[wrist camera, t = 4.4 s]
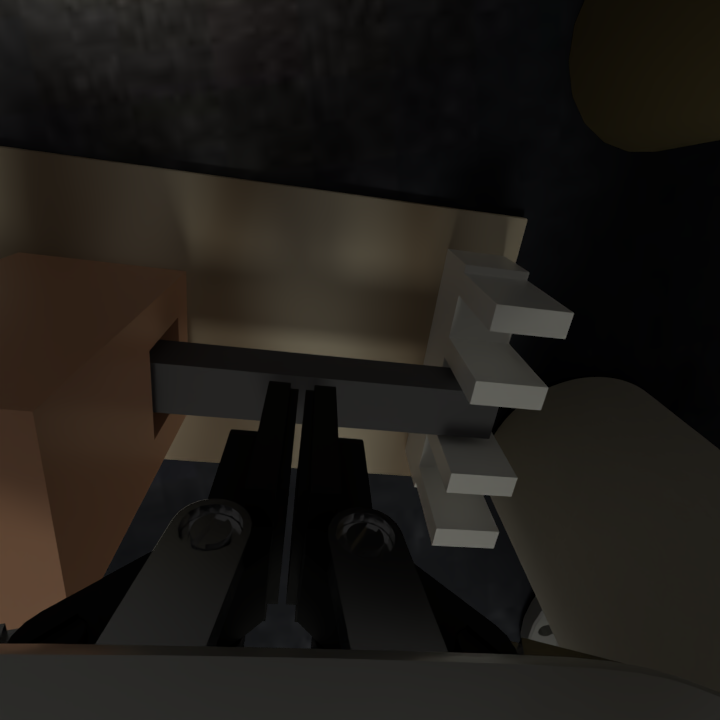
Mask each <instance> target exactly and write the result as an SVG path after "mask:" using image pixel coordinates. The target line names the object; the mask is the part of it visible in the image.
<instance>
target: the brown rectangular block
mask: <svg viewBox="0 0 720 720" xmlns="http://www.w3.org/2000/svg"><path fill="white" fill-rule="evenodd" d="M158 340H169V341H180V342H188V334H187V284H186V271H179V270H171V269H162V268H153V267H144V266H135V265H126V264H118V263H109V262H100V261H91V260H82V259H74V258H65V257H56V256H47V255H38V254H29V253H21V252H18V253H16V254H13V255H10V256H7V257H4V258H2V259H0V624H4V623H5V625H6V629H7V630H12V629H18V628H20V627H21V626H22V625H23V624H24V623H25V622H26V621H28V620H29V619H31V618H32V617H34V616H35V615H37V614H38V613H40V612H41V611H43V610H45V609H47V608H49V607H50V606H52V605H54V604H56V603H58V602H60V601H61V600H63V599H65V598H67V597H69V596H71V595H73V594H74V593H76V592H78V591H80V590H82V589H84V588H85V587H87V586H89V585H91V584H93V583H95V582H96V581H98V580H100V579H102V578H103V576H104V574H105V572H106V570H107V568H108V566H109V564H110V562H111V560H112V558H113V557H114V555H115V553H116V551H117V549H118V547H119V545H120V543H121V541H122V539H123V537H124V535H125V533H126V531H127V529H128V528H129V526H130V524H131V522H132V520H133V518H134V516H135V514H136V512H137V510H138V508H139V506H140V504H141V502H142V500H143V498H144V497H145V495H146V493H147V491H148V489H149V487H150V485H151V483H152V481H153V479H154V477H155V475H156V473H157V471H158V469H159V468H160V466H161V464H162V462H163V460H164V458H165V456H166V454H167V452H168V450H169V448H170V446H171V444H172V442H173V440H174V438H175V437H176V435H177V433H178V431H179V429H180V427H181V425H182V423H183V421H184V419H185V417H186V415H180V414H168V413H155V412H153V406H152V389H151V371H150V354H149V351H150V349H151V348H152V347H153V346H154V345H155V344H156V342H157V341H158Z"/></svg>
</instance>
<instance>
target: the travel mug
mask: <svg viewBox="0 0 720 720" xmlns="http://www.w3.org/2000/svg"><path fill="white" fill-rule="evenodd" d="M494 437H495V439H496V441H497V442H498V444H499V446H500V448H501V449H502V451H503V453H504V455H505V456H506V458H507V460H508V462H509V463H510V465H511V467H512V469H513V471H514V472H515V474H516V476H517V478H518V479H517V481H516V484H515V487H514V490H513V493H512V496H511V497H508V496H493V495H490V497H491V499H492V501H493V503H494V506H495V508H496V510H497V512H498V514H499V516H500V519H501V521H502V523H503V525H504V527H505V530H506V532H507V534H508V536H509V538H510V540H511V543H512V545H513V547H514V549H515V551H516V554H517V556H518V558H519V560H520V562H521V564H522V567H523V569H524V571H525V573H526V575H527V577H528V580H529V582H530V584H531V586H532V588H533V591H534V593H535V595H536V597H537V599H538V601H539V604H540V606H541V608H542V610H543V612H544V614H545V617H546V619H547V621H548V623H549V625H550V628H551V630H552V632H553V634H554V636H555V638H556V641H557V643H558V645H559V647H562V648H566V649H570V650H574V651H578V652H582V653H586V654H589V655H593V656H597V657H601V658H605V659H609V660H613V661H617V662H621V663H624V664H630V665H636V666H642V667H646V668H650V669H654V670H657V671H661V672H664V673H668V674H672V675H675V676H679V677H682V678H684V679H687V680H689V681H692V682H694V683H697V684H700V685H702V686H705V687H707V688H710V689H712V690H715V691H717V692H719V693H720V450H719V449H718V448H717V447H716V446H714V445H713V444H712V443H710V442H709V441H708V440H707V439H705V438H704V437H703V436H702V435H700V434H699V433H698V432H696V431H695V430H694V429H693V428H691V427H690V426H689V425H688V424H686V423H685V422H684V421H682V420H681V419H680V418H679V417H677V416H676V415H675V414H674V413H672V412H671V411H670V410H668V409H667V408H666V407H665V406H663V405H662V404H661V403H660V402H658V401H657V400H656V399H654V398H653V397H652V396H651V395H649V394H648V393H647V392H645V391H644V390H643V389H641V388H639V387H638V386H636V385H634V384H632V383H629V382H627V381H623V380H620V379H615V378H609V377H587V378H579V379H574V380H569V381H566V382H562V383H559V384H557V385H554V386H551V387H549V388H548V391H547V394H546V397H545V400H544V403H543V406H542V409H541V410H531V409H519V408H516V409H515V410H514V411H513V412H512V413H511V414H510V415H509V416H508V417H507V418H506V419H505V420H504V422H503V423H502V424H501V426H500V427H499V428H498V430H497V431H496V433H495V435H494Z"/></svg>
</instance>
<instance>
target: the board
mask: <svg viewBox="0 0 720 720" xmlns="http://www.w3.org/2000/svg"><path fill="white" fill-rule="evenodd" d="M527 220H528V219H526V218H523V217H516V216H509V215H502V214H494V213H487V212H480V211H473V210H465V209H458V208H451V207H443V206H436V205H429V204H421V203H414V202H407V201H400V200H392V199H385V198H378V197H370V196H363V195H356V194H348V193H341V192H334V191H327V190H319V189H312V188H305V187H297V186H290V185H283V184H275V183H268V182H261V181H253V180H246V179H239V178H232V177H224V176H217V175H210V174H202V173H195V172H188V171H180V170H173V169H166V168H159V167H151V166H144V165H137V164H129V163H122V162H115V161H107V160H100V159H93V158H86V157H78V156H71V155H64V154H56V153H49V152H42V151H34V150H27V149H20V148H13V147H5V146H0V259H2V258H4V257H7V256H10V255H13V254H16V253H18V252H21V253H29V254H38V255H47V256H56V257H65V258H74V259H82V260H91V261H100V262H109V263H118V264H126V265H135V266H144V267H153V268H162V269H171V270H179V271H186V284H187V334H188V342H190V343H201V344H211V345H221V346H232V347H242V348H252V349H263V350H273V351H283V352H294V353H304V354H314V355H325V356H335V357H345V358H356V359H366V360H376V361H387V362H397V363H407V364H418V365H423V363H424V359H425V354H426V349H427V345H428V340H429V335H430V330H431V326H432V321H433V316H434V311H435V307H436V302H437V297H438V293H439V288H440V283H441V278H442V274H443V269H444V264H445V260H446V255H447V250H448V249H454V250H462V251H470V252H478V253H486V254H494V255H502V256H505V257H506V258H508V259H509V260H511V261H512V262H514V263H516V260H517V256H518V253H519V249H520V246H521V242H522V238H523V235H524V231H525V227H526V224H527ZM259 424H260V421H256V420H243V419H231V418H218V417H206V416H193V415H186V417H185V419H184V421H183V423H182V425H181V427H180V429H179V431H178V433H177V435H176V437H175V438H174V440H173V442H172V444H171V446H170V448H169V450H168V452H167V454H166V456H165V458H164V459H171V460H186V461H200V462H215V463H220V460H221V457H222V454H223V451H224V448H225V445H226V442H227V439H228V436H229V433H230V430H231V429H236V430H249V431H258V428H259ZM301 430H302V424H295V434H294V444H293V454H292V464H291V468H298V459H299V449H300V440H301ZM408 434H409V433H407V432H394V431H382V430H369V429H357V428H344V427H338V437H339V438H351V439H362V440H363V442H364V449H365V456H366V464H367V472H368V473H375V474H389V475H404V476H411V472H410V468H409V464H408V460H407V456H406V452H405V448H406V444H407V439H408Z"/></svg>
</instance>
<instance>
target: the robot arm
mask: <svg viewBox="0 0 720 720" xmlns="http://www.w3.org/2000/svg"><path fill="white" fill-rule="evenodd" d="M298 394H299V389H292V388H291V383H288V382H277V381H269V384H268V389H267V393H266V397H265V402H264V406H263V411H262V415H261V419H260V424H259V428H258V431H249V430H236V429H231V430H230V433H229V436H228V439H227V442H226V445H225V448H224V451H223V454H222V457H221V460H220V464H219V467H218V470H217V473H216V476H215V479H214V482H213V485H212V488H211V491H210V495H209V498H208V499H206V500H200V501H198V502H195V503H192V504H190V505H188V506H186V507H185V508H183V509H182V510H180V511H179V512H178V513H177V515H176V516H175V517H174V518H173V519H172V521H171V522H170V524H169V525H168V527H167V529H166V530H165V532H164V534H163V535H162V537H161V538H160V540H159V542H158V543H157V545H156V546H155V548H154V550H153V551H151V552H150V553H148V554H146V555H144V556H142V557H140V558H139V559H137V560H135V561H133V562H131V563H129V564H128V565H126V566H124V567H122V568H120V569H118V570H117V571H115V572H113V573H111V574H109V575H107V576H106V577H104V578H102V579H100V580H98V581H96V582H95V583H93V584H91V585H89V586H87V587H85V588H84V589H82V590H80V591H78V592H76V593H74V594H73V595H71V596H69V597H67V598H65V599H63V600H61V601H60V602H58V603H56V604H54V605H52V606H50V607H49V608H47V609H45V610H43V611H41V612H40V613H38V614H37V615H35V616H34V617H32V618H31V619H29V620H28V621H26V622H25V623H24V624H23V625H22V626H21V627H20V628H18V629H12V630H7V629H6V625H5V623H4V624H0V720H720V693H719V692H717V691H715V690H712V689H710V688H707V687H705V686H702V685H700V684H697V683H694V682H692V681H689V680H687V679H684V678H682V677H679V676H675V675H672V674H668V673H664V672H661V671H657V670H654V669H650V668H646V667H642V666H636V665H630V664H624V663H621V662H617V661H613V660H609V659H605V658H601V657H597V656H593V655H589V654H586V653H582V652H578V651H574V650H570V649H566V648H562V647H559V645H558V643H557V641H556V638H555V636H554V634H553V632H552V630H551V628H550V625H549V623H548V621H547V619H546V617H545V614H544V612H543V610H542V608H541V606H540V604H539V601H538V599H537V597H536V596H535V598H534V599H533V600H532V602H531V604H530V606H529V608H528V610H527V612H526V614H525V616H524V618H523V623H522V628H521V639H520V642H519V643H516V642H512V641H510V640H509V638H508V637H507V635H506V634H504V633H503V632H502V631H501V630H500V629H499V628H498V627H497V626H496V625H495V624H493V623H492V622H491V621H489V620H488V619H487V618H485V617H484V616H483V615H481V614H480V613H479V612H477V611H476V610H475V609H473V608H472V607H471V606H469V605H468V604H467V603H465V602H464V601H463V600H462V599H460V598H459V597H458V596H456V595H455V594H454V593H452V592H451V591H450V590H448V589H447V588H446V587H444V586H443V585H442V584H440V583H439V582H438V581H436V580H435V579H434V578H432V577H431V576H430V575H428V574H427V573H426V572H424V571H423V570H422V569H420V568H419V567H418V566H416V565H415V564H414V562H413V560H412V557H411V555H410V552H409V549H408V547H407V544H406V542H405V539H404V536H403V534H402V532H401V530H400V528H399V526H398V525H397V523H396V522H395V521H394V520H392V519H391V518H390V517H389V516H388V515H386V514H384V513H382V512H380V511H378V510H374V509H372V503H371V495H370V487H369V479H368V472H367V464H366V456H365V449H364V442H363V440H362V439H351V438H339V437H338V416H337V395H336V387H331V386H320V385H315V386H314V390H306V393H305V402H304V411H303V421H302V430H301V440H300V449H299V459H298V468H297V478H296V488H295V500H294V512H293V524H292V537H291V549H290V561H289V573H288V585H287V597H286V604H293V605H296V611H295V622H298V623H299V624H300V625H301V626H302V627H303V628H304V629H305V630H306V631H307V632H308V633H309V634H310V635H311V636H312V639H311V649H302V648H257V647H244V642H245V635H246V634H247V633H248V632H250V631H251V630H252V629H253V628H255V627H256V626H257V625H258V624H260V623H261V622H262V621H265V618H266V610H267V604H278V594H279V584H280V574H281V564H282V554H283V544H284V534H285V524H286V514H287V505H288V495H289V485H290V475H291V464H292V454H293V444H294V434H295V424H296V414H297V404H298Z"/></svg>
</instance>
